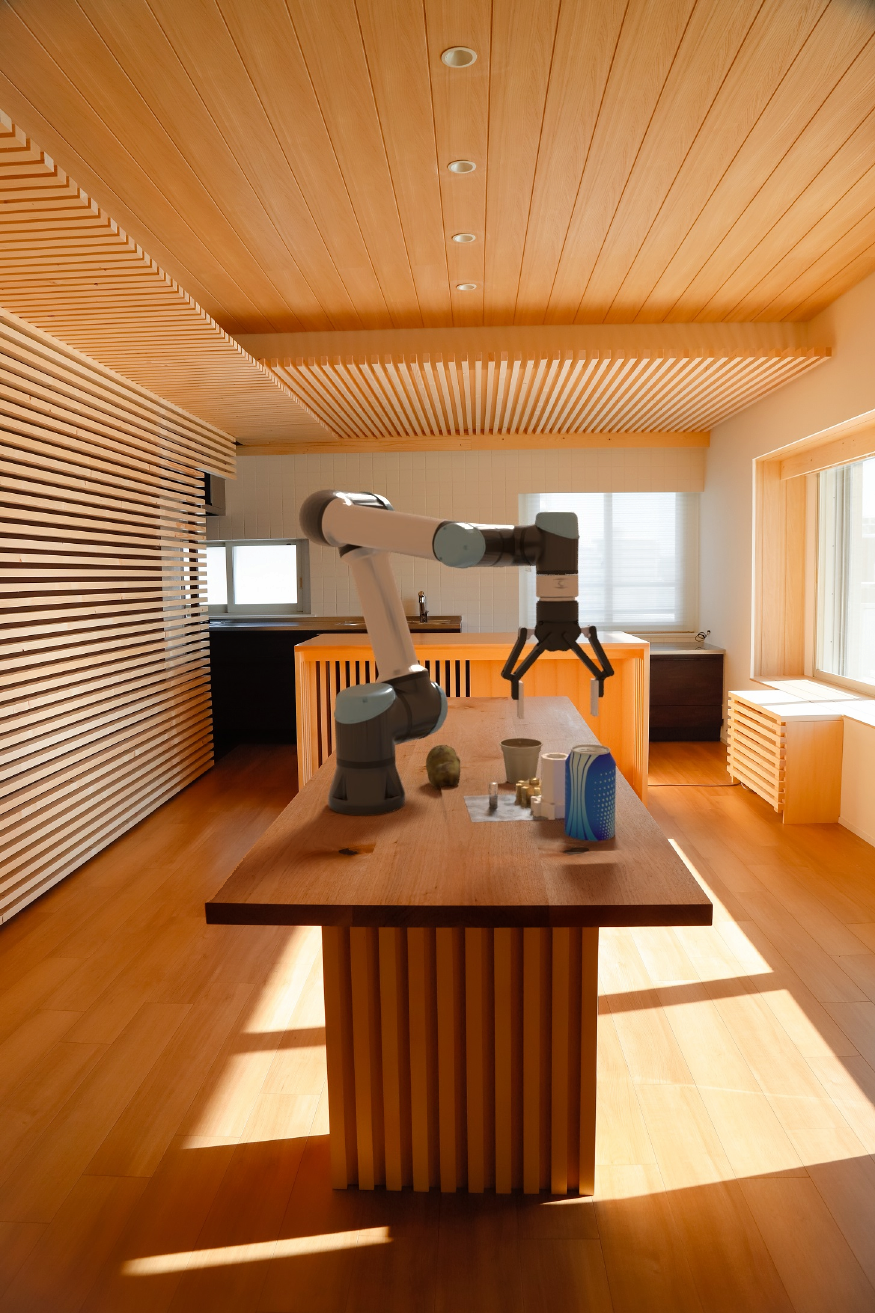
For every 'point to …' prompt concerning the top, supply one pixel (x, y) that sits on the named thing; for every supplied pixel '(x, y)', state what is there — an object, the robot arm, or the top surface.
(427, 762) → the potato
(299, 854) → the top surface
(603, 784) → the beer can
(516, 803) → the plate
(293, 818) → the top surface
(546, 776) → the planet gear
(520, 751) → the flower pot
